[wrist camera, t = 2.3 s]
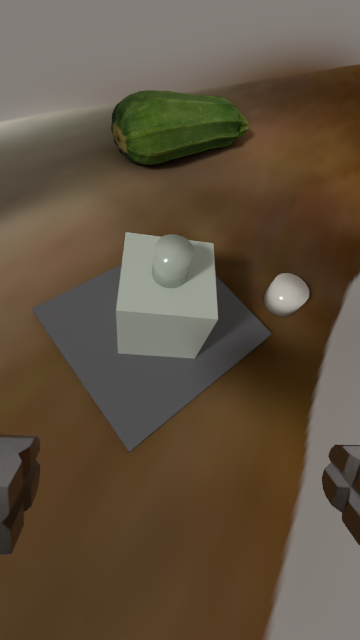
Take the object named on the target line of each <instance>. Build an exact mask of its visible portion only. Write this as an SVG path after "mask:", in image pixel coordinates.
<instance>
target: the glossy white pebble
mask: <svg viewBox="0 0 360 640" xmlns="http://www.w3.org/2000/svg"><path fill="white" fill-rule="evenodd" d="M308 298H309V289H308V287H307V285H306V283H305V282H304V281H303V280H302V279H301V278H299V277H298V276H296V275H293V274H289V273H283V274H280V275H278V276H277V277H276V278H275V279H274V281H273V282H272V283H271V285H270V286H269V287H268V288H267V290H266V291H265V293H264V295H263V301H264V304H265V306H266V308H267V309H268V310H269V311H270V312H271V313H273V314H274V315H276V316H280V317H288V316H291V315H292V314H293V313H295V312H296V311H297V310H298V309H299V308H300V307H301V306H302V305H303V304H304V303H305V302H306V301H307V300H308Z"/></svg>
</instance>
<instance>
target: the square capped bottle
mask: <svg viewBox="0 0 360 640" xmlns="http://www.w3.org/2000/svg"><path fill="white" fill-rule="evenodd" d="M217 320H218V309H217V293H216V277H215V262H214V246H213V243H206V242H198V241H190V240H187V239H186V238H184V237H182V236H179V235H173V234H171V235H165V236H163V237H159V236H151V235H143V234H135V233H127V232H126V235H125V243H124V251H123V259H122V267H121V275H120V283H119V291H118V298H117V306H116V322H117V344H118V353H119V354H134V355H149V356H164V357H179V358H194V359H195V357H196V355H197V354H198V352H199V350H200V349H201V347H202V345H203V344H204V342H205V340H206V339H207V337H208V335H209V334H210V332H211V330H212V329H213V327H214V325H215V324H216V322H217Z"/></svg>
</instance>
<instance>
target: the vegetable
mask: <svg viewBox="0 0 360 640" xmlns="http://www.w3.org/2000/svg"><path fill="white" fill-rule="evenodd" d="M248 126H249V122H247V121H246V117H245V116H243V115H242V114H241V113H240V111H239V110H238V108H237V107H236V106H234V105H233V104H232V103H231V101H229V100H228V99H227V98H223V97H217V96H205V95H192V94H183V93H176V92H170V91H150V90H149V91H140V92H137V93H134V94H131V95H129V96H127V97H126V98H124V99H123V100H122V101H121V102H119V103H118V104H117V105H116V107H115V109H114V111H113V113H112V127H111V129H112V133H113V136H114V142H115V144H116V145H117V146H118V148H119V151H120V153H121V154H123V155H124V156H125V157H126V158H127V159H128V160H129V161H130V162H132V163H135V164H139V165H153V164H159V163H163V162H166V161H170V160H173V159H176V158H179V157H183V156H187V155H191V154H195V153H199V152H202V151H205V150H208V149H212V148H220V147H227V146H229V145H231V144H232V143H233V142H234V140H236V139H238V138H240V137H241V136H243V135H244V134H245V133H246V131H247V130H248Z"/></svg>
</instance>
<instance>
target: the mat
mask: <svg viewBox="0 0 360 640" xmlns="http://www.w3.org/2000/svg"><path fill="white" fill-rule="evenodd" d="M121 267H122V264H121V265H119V266H117V267H115V268H113V269H111V270H109V271H107V272H105V273H103V274H101V275H99V276H97V277H95V278H93V279H91V280H89V281H87V282H85V283H83V284H81V285H79V286H77V287H75V288H73V289H71V290H69V291H67V292H65V293H63V294H61V295H59V296H57V297H55V298H53V299H51V300H49V301H47V302H45V303H43V304H41V305H39V306H37V307H35V308H33V309H32V310H33V312H34V314H35V315H36V316H37V318H38V319H39V321H40V322H41V324H42V325H43V327H44V328H45V330H46V331H47V333H48V334H49V335H50V337H51V338H52V340H53V341H54V343H55V344H56V346H57V347H58V349H59V350H60V352H61V353H62V355H63V356H64V357H65V359H66V360H67V362H68V363H69V365H70V366H71V368H72V369H73V371H74V372H75V374H76V375H77V376H78V378H79V379H80V381H81V382H82V384H83V385H84V387H85V388H86V390H87V391H88V393H89V394H90V395H91V397H92V398H93V400H94V401H95V403H96V404H97V406H98V407H99V409H100V410H101V412H102V413H103V414H104V416H105V417H106V419H107V420H108V422H109V423H110V425H111V426H112V428H113V429H114V431H115V432H116V433H117V435H118V436H119V438H120V439H121V441H122V442H123V444H124V445H125V447H126V448H127V450H128V451H129V452H130V451H132V450H133V449H134V448H135V447H136V446H138V445H139V444H140V443H141V442H142V441H144V440H145V439H146V438H147V437H148V436H150V435H151V434H152V433H153V432H154V431H156V430H157V429H158V428H159V427H160V426H162V425H163V424H164V423H165V422H166V421H168V420H169V419H170V418H171V417H173V416H174V415H175V414H176V413H177V412H179V411H180V410H181V409H182V408H183V407H185V406H186V405H187V404H188V403H189V402H191V401H192V400H193V399H194V398H195V397H197V396H198V395H199V394H200V393H201V392H203V391H204V390H205V389H206V388H208V387H209V386H210V385H211V384H212V383H214V382H215V381H216V380H217V379H218V378H220V377H221V376H222V375H223V374H224V373H226V372H227V371H228V370H229V369H230V368H232V367H233V366H234V365H235V364H236V363H238V362H239V361H240V360H241V359H243V358H244V357H245V356H246V355H247V354H249V353H250V352H251V351H252V350H253V349H255V348H256V347H257V346H258V345H259V344H261V343H262V342H263V341H264V340H265V339H267V338H268V337H269V336H270V335H271V334H272V333H271V332H270V331H269V330H268V329H267V328H266V327H265V326H264V325H263V324H262V323H261V322H260V321H259V320H258V319H257V318H256V317H255V316H254V315H253V313H252V312H251V311H250V310H249V309H248V308H247V307H246V306H245V305H244V304H243V303H242V302H241V301H240V300H239V299H238V298H237V297H236V296H235V295H234V294H233V293H232V292H231V291H230V290H229V289H228V287H227V286H226V285H225V284H224V283H223V282H222V281H221V280H220V279H219V278H218V277H217V276H216V275H215V277H216V293H217V309H218V320H217V322H216V324H215V325H214V327H213V329H212V330H211V332H210V334H209V335H208V337H207V339H206V340H205V342H204V344H203V345H202V347H201V349H200V350H199V352H198V354H197V355H196V357H195V359H194V358H179V357H164V356H149V355H134V354H119V353H118V344H117V322H116V306H117V298H118V291H119V283H120V275H121Z"/></svg>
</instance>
